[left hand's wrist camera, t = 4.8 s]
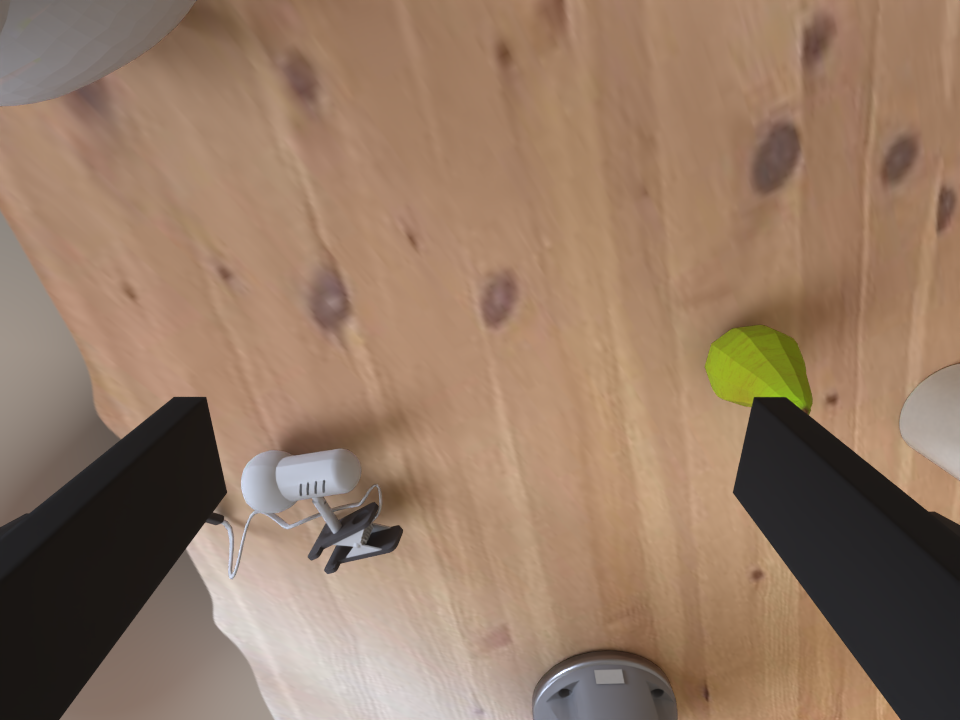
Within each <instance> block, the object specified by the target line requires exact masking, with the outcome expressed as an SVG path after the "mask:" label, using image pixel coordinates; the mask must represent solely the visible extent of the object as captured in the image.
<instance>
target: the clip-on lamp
mask: <svg viewBox="0 0 960 720" xmlns="http://www.w3.org/2000/svg"><path fill="white" fill-rule="evenodd" d="M360 477H361V464H360V461H359V459H358V458H357V456H356V455H355V454H354V453H353V452H351V451H350V450H348V449H334V450H327V451H321V452H314V453H308V454H301V455H295V456H293V455H292V454H290V453H288V452H285V451H278V450H270V451H266V452H263V453H261V454H258V455H256V456H255V457H254V458H253V459H251V460H250V461H249V462H248V463H247V465H246V467H245V468H244V471H243V474H242V478H241V488H242V493H243V497H244V499H245V500H246V502H247V504H248V505H249V506H250V507H251V508H252V509H254V510H255V511H254V512H253V513H252V514H251V515H250V516H249V519H248V521H247V523H246V526H245V529H244V533H243V537H242V541H241V545H240V550H239V554H238V558H237V563H236V566H235V569H234V572H233V574H232V564H233V551H234V535H233V530H232V527H231V525H230V524H229V523H228V521H226V520H224V516H223V515H220V514H216V513H213V512H212V514H211V515H210V516H209V518H208V519H207V521H206V522H207V523H210V524H213V525H218V524H223V525H224V526H225V528H226V529H227V530H228V534H229V539H230V554H229V570H228V573H229V578H230V579H233V578H234V577H235V575H236V573H237V570H238V567H239V563H240V559H241V554H242V549H243V545H244V540H245V536H246V532H247V528H248V526H249V523H250V520H251V518H252V517H253V516H254V515H255V514H257V513H262V514H265V515H267V516H269V517H270V518H272V519H273V520H274V521H276V522H277V523H278V524H279V525H280V526H282V527H283V528H285V529H290V528H293V527H296V526H298V525H300V524H303V523H305V522H307V521H310V520H312V519H315V518H317V517H320V516H322V517H323V519H324V520H325V522H326V524H325V526H324V528H323V530H322V531H321V533H320V535H319V537H318V539H317V540H316V542H315V544H314V546H313V548H312V549H311V551H310V553H309V555H308V558H309V559H310V560H314V559H316V558H318V557H319V556H320V555H321V553H322V551H323V549H325V548H327V547H329V546H331V545H336V547H335V549H334V551H333V553H332V555H331V557H330V559H329V561H328V563H327V565H326V567H325V569H324V571H325V572H326V573H327V574H330V573H334V572H336V571H337V569H338V568H339V566H340V564H341V563H345V562H350V561H354V560H359V559H363V558H368V557H372V556H376V555H381V554H385V553H390V552H392V551H393V550H394V549H396V547H397V546H398V543H399V541H400V538H401V536H402V533H403V529H402V528H401V527H400V526H399V525H397V526H393V527H389V526H385V525H380V524H376V523H372V522H373V521H374V520H375V519H376V518H377V517H378V516H379V514H380V511H381V508H382V493H381V488H380V486H379V485H378V484H374V485H373V486H372V487H371V488H370V489H369V490H368V492H367V493H366V495H365V496H364V498H363V499H362V500H361V502H358V503H352V504H347V505H342V506H339V507H335V508H332V509H331V508H330V506H329V505H328V503H327V502H326V500H325V499H324V497H323V496H330V495H336V494H343V493H347V492H350V491H351V490H353V489H354V488H355V486H356V485H357V484H358V482H359V480H360ZM375 486H377V488H378V491H379V506H378V505H377V504H376V503H375V502H372V503H371V504H369V505H367V506H365V507H363V508H361V509H359V510H357V511H355V512H353V513H352V514H350V515H348V516H346V517H344V518H342V519H340V520H338V519H337V517H336V516H335V514H334V512H335V511H338V510H342V509H346V508H351V507H357V506H360V505H361V504H363V502H364V501H365V500H366V498H367V496H368V495H369V493H370V491H371V490H372V489H373V488H374V487H375ZM310 498H312V499H313V500H312V502H313V503H314V505H315V506H316V508H317V510H318V511H319V513H317V514H315V515H312V516H310V517H308V518H305V519H303V520H301V521H298V522H296V523H294V524H291V525H289V524H287V523H286V522H285V521H284V520H283V519H281V518H280V517H279V516H277V515H276V514H274V513H278V512H282V511H284V510H286V509H288V508H290V507H291V506H293V505H294V504H295V503H296V502H297V501H298V500H304V499H310ZM378 507H379V509H378ZM377 510H378V512H377ZM376 512H377V513H376ZM375 514H376V515H375Z"/></svg>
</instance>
